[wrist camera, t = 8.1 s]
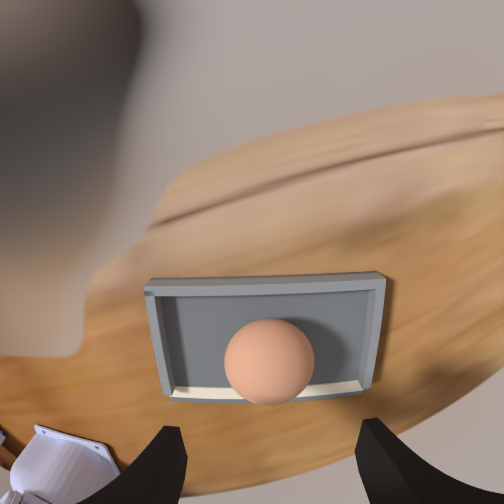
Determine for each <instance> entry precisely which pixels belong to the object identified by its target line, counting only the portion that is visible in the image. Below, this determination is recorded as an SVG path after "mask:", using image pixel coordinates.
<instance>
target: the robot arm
mask: <svg viewBox="0 0 504 504" xmlns="http://www.w3.org/2000/svg"><path fill="white" fill-rule="evenodd" d="M34 428H35V430H36V432H37V433H36V434H35V435H34V437H33V438H32V439H31V441H30V442H29V443H28V445H27V446H26V447H25V449H24V450H23V451H22V453H21V454H20V455H19V457H18V458H17V460H16V461H15V462H14V464H13V466H12V469H11V474H10V482H11V486H12V489H13V491H8V492H7V493H6V494H5V495H4V496H3V497H2V499H1V500H0V504H178V501H179V498H180V494H181V491H182V487H183V483H184V480H185V474H186V467H187V459H188V457H187V454H186V450H185V447H184V443H183V439H182V435H181V432H180V428H179V427H174V426H164V427H162V429H161V430H160V431H159V432H158V434H157V435H156V436H155V437H154V439H153V440H152V441H151V442H150V443H149V445H148V446H147V447H146V448H145V449H144V450H143V451H142V453H141V454H140V455H139V456H138V457H137V458H136V459H135V460H134V461H133V462H132V463H131V464H130V465H129V466H128V467H127V468H126V469H125V470H124V471H123V472H122V473H120V471H119V469H118V468H117V466H116V464H115V462H114V460H113V458H112V456H111V454H110V452H109V450H108V448H107V446H106V445H104V444H102V443H98V442H94V441H90V440H86V439H82V438H78V437H75V436H71V435H68V434H64V433H61V432H58V431H55V430H51V429H48V428H45V427H42V426H39V425H35V426H34ZM355 455H356V460H357V465H358V470H359V473H360V476H361V479H362V482H363V485H364V487H365V490H366V493H367V496H368V499H369V502H370V504H504V494H500V493H495V492H490V491H486V490H483V489H479V488H476V487H473V486H470V485H468V484H465V483H463V482H461V481H458V480H456V479H454V478H452V477H450V476H448V475H446V474H444V473H443V472H441V471H440V470H438V469H436V468H435V467H433V466H432V465H430V464H429V463H427V462H426V461H425V460H423V459H422V458H421V457H419V456H418V455H417V454H416V453H414V452H413V451H412V450H411V449H410V448H409V447H407V446H406V445H405V444H404V443H403V442H402V441H401V440H400V439H399V438H398V437H397V436H396V435H395V434H394V433H392V432H391V431H390V430H389V429H388V428H387V427H386V426H385V425H384V424H383V423H382V422H381V421H380V420H379V419H378V418H377V417H376V418H371V419H365V420H363V422H362V426H361V430H360V434H359V437H358V441H357V445H356V448H355Z"/></svg>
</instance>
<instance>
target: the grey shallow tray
mask: <svg viewBox="0 0 504 504" xmlns="http://www.w3.org/2000/svg"><path fill="white" fill-rule="evenodd" d="M385 287H386V278H385V277H384V276H382V275H381V274H380V273H378V272H377V271H370V272H349V273H327V274H303V275H275V276H241V277H197V278H152V279H150V280H149V281H148V282H147V283H146V284H145V285H144V286H143V288H144V295H145V302H146V308H147V314H148V320H149V326H150V332H151V337H152V343H153V348H154V353H155V358H156V363H157V368H158V372H159V377H160V381H161V386H162V390H163V394H164V395H167V396H170V397H171V401H180V402H198V403H252V402H250V401H248V400H246V399H244V398H243V397H241V396H240V395H239V394H238V393H237V392H236V391H235V390H234V389H233V388H232V386H231V385H230V383H229V381H228V379H227V376H226V373H225V367H224V358H225V352H226V349H227V346H228V344H229V342H230V340H231V339H232V337H233V336H234V335H235V334H236V332H237V331H239V330H240V329H241V328H242V327H243V326H245V325H247V324H248V323H251V322H253V321H256V320H260V319H266V318H274V319H280V320H284V321H286V322H289V323H291V324H293V325H295V326H296V327H297V328H299V329H300V330H301V331H302V332H303V333H304V334H305V336H306V337H307V338H308V340H309V342H310V344H311V346H312V349H313V353H314V370H313V374H312V377H311V379H310V382H309V383H308V385H307V386H306V388H305V389H304V390H303V391H302V392H301V393H300V394H299V395H298V396H297V397H295V398H294V399H292V400H290V401H288V402H297V401H310V400H321V399H331V398H340V397H348V396H356V395H362V394H363V390H364V389H369V388H371V383H372V378H373V372H374V367H375V361H376V355H377V349H378V343H379V337H380V330H381V322H382V314H383V306H384V297H385Z"/></svg>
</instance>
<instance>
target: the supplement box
mask: <svg viewBox="0 0 504 504" xmlns="http://www.w3.org/2000/svg"><path fill="white" fill-rule="evenodd" d="M6 438H7V435H6V434H5V433H4V432H3V431H2V430H1V429H0V446H1V444H2V443H3V442H4V440H5V439H6Z"/></svg>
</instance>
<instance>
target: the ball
mask: <svg viewBox="0 0 504 504" xmlns="http://www.w3.org/2000/svg"><path fill="white" fill-rule="evenodd" d="M224 367H225V373H226V376H227V379H228V381H229V383H230V385H231V386H232V388H233V389H234V390H235V391H236V392H237V393H238V394H239V395H240V396H241V397H243V398H244V399H246V400H248V401H250V402H252V403H255V404H258V405H264V406H273V405H279V404H283V403H286V402H288V401H290V400H292V399H294V398H295V397H297V396H298V395H299V394H300V393H301V392H302V391H303V390H304V389H305V388H306V386H307V385H308V383H309V382H310V379H311V377H312V374H313V370H314V353H313V349H312V346H311V344H310V342H309V340H308V338H307V337H306V336H305V334H304V333H303V332H302V331H301V330H300V329H299V328H297V327H296V326H295V325H293V324H291V323H289V322H286V321H284V320H280V319H274V318H266V319H260V320H256V321H253V322H251V323H248V324H247V325H245V326H243V327H242V328H241V329H240V330H239V331H237V332H236V334H235V335H234V336H233V337H232V339H231V340H230V342H229V344H228V346H227V349H226V352H225V358H224Z"/></svg>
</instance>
